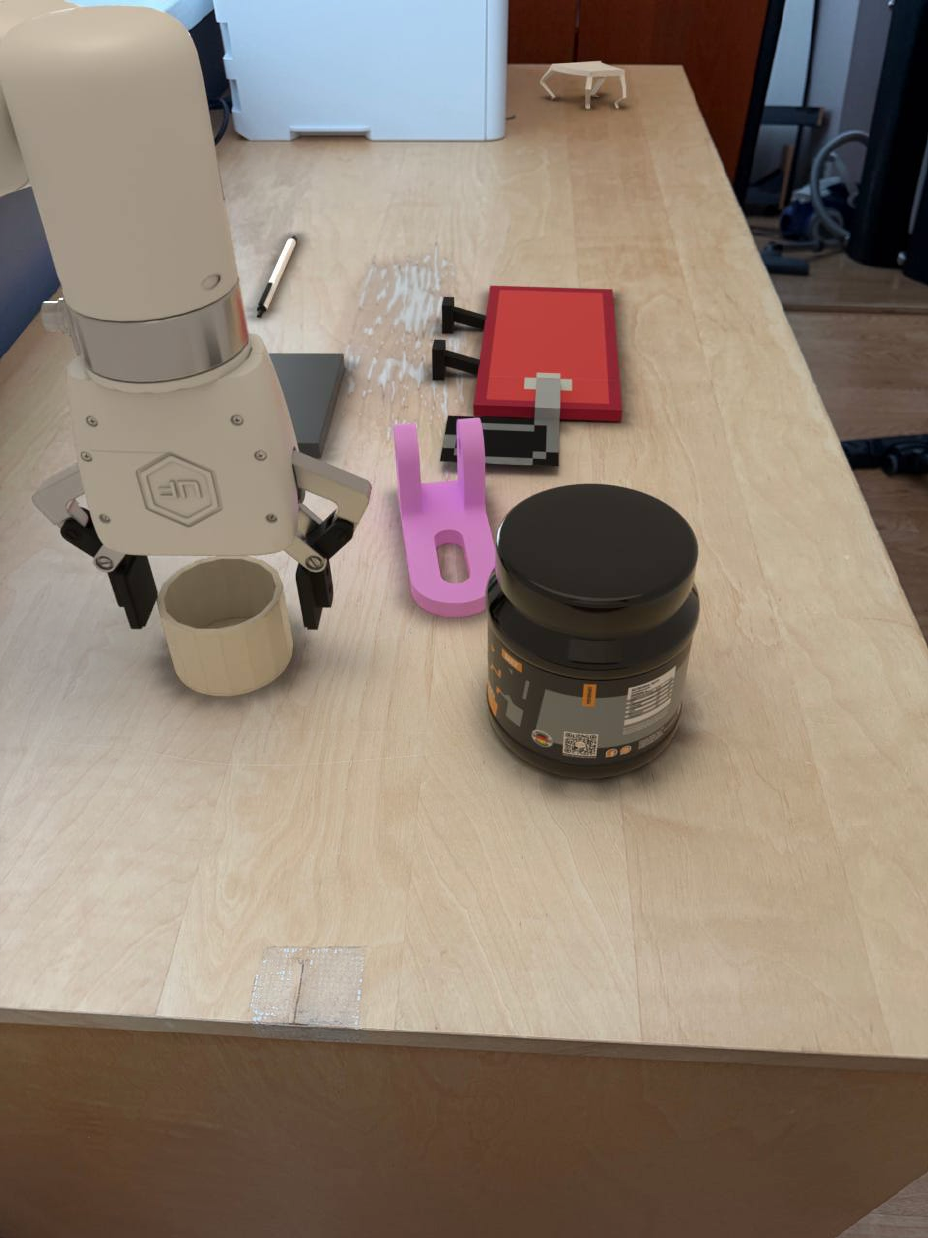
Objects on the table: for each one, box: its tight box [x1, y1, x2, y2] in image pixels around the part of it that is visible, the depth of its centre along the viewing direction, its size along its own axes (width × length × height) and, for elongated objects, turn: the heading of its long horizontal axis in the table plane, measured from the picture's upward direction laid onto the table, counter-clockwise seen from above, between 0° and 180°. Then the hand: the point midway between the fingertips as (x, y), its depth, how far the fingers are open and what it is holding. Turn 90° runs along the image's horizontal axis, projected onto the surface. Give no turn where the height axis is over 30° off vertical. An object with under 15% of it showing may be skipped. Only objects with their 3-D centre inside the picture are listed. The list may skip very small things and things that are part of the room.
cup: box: [156, 556, 294, 697], centre depth 59 cm, size 7×7×5 cm
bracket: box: [392, 418, 495, 618], centre depth 65 cm, size 13×6×7 cm, turn 7°
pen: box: [256, 235, 297, 319], centre depth 101 cm, size 1×19×1 cm, turn 177°
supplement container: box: [484, 483, 701, 779], centre depth 53 cm, size 10×10×12 cm
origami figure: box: [539, 60, 627, 110], centre depth 142 cm, size 12×8×5 cm
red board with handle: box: [431, 285, 623, 467], centre depth 84 cm, size 30×3×15 cm
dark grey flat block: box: [268, 352, 346, 460], centre depth 81 cm, size 16×14×3 cm
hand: (230, 613), depth 58 cm, fingers open, 9 cm apart
